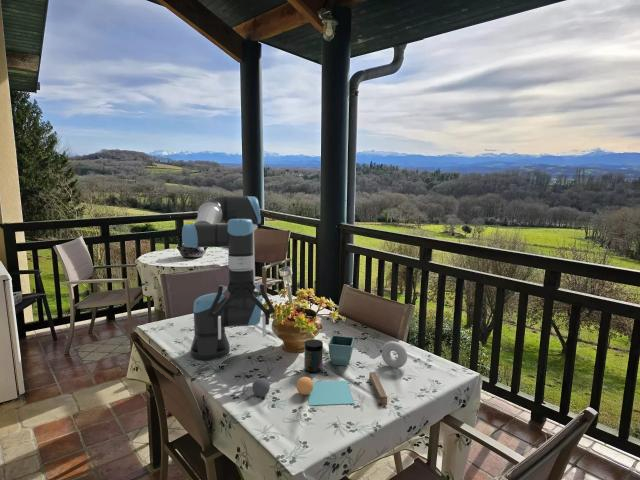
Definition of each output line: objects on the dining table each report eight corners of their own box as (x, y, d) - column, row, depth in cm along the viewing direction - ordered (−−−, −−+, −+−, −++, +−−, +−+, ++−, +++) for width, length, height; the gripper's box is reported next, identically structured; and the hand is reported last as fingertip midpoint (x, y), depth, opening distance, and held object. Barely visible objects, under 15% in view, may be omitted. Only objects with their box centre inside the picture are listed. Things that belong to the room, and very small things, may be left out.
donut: (408, 369, 144) (409, 343, 142) (404, 372, 141) (405, 346, 139) (383, 362, 149) (384, 337, 148) (379, 365, 146) (380, 340, 145)
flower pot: (351, 369, 143) (351, 346, 142) (327, 367, 145) (328, 344, 143) (354, 359, 151) (354, 337, 150) (331, 356, 153) (332, 335, 152)
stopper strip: (380, 404, 120) (380, 396, 120) (369, 378, 136) (369, 372, 136) (387, 404, 120) (387, 396, 120) (374, 378, 136) (375, 371, 136)
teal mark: (309, 405, 119) (309, 405, 119) (306, 382, 133) (306, 382, 133) (354, 403, 120) (354, 403, 120) (347, 381, 134) (347, 380, 134)
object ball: (296, 398, 123) (296, 382, 122) (296, 389, 128) (296, 373, 128) (314, 398, 124) (314, 381, 123) (312, 389, 129) (312, 373, 128)
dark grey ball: (251, 400, 122) (251, 384, 121) (253, 391, 127) (252, 375, 126) (269, 399, 122) (269, 383, 121) (270, 390, 128) (270, 374, 127)
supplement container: (318, 376, 138) (318, 348, 136) (301, 372, 140) (301, 344, 139) (325, 368, 144) (325, 341, 142) (308, 364, 146) (308, 338, 145)
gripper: (197, 272, 113) (199, 343, 115) (283, 269, 119) (283, 337, 121) (199, 268, 121) (201, 335, 123) (280, 265, 126) (280, 329, 128)
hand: (242, 336), depth 122 cm, fingers open, 13 cm apart
